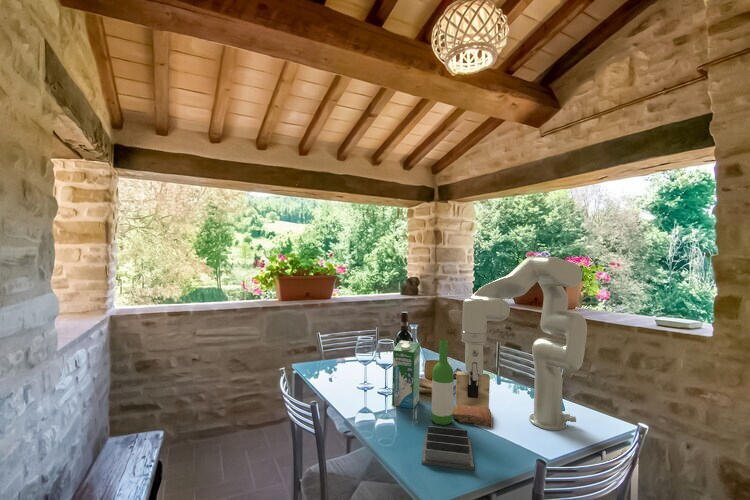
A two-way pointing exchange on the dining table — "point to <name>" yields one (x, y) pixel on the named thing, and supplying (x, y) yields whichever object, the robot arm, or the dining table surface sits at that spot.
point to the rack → (447, 448)
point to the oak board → (462, 390)
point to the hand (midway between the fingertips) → (472, 394)
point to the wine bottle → (442, 388)
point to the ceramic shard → (472, 415)
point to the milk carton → (406, 374)
